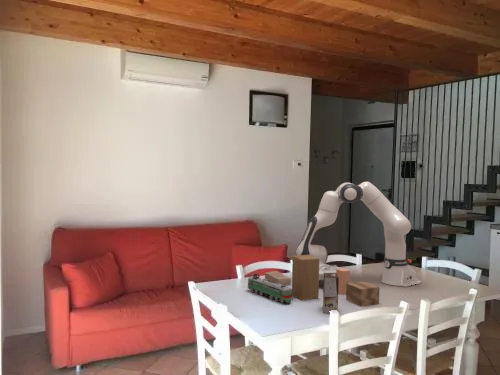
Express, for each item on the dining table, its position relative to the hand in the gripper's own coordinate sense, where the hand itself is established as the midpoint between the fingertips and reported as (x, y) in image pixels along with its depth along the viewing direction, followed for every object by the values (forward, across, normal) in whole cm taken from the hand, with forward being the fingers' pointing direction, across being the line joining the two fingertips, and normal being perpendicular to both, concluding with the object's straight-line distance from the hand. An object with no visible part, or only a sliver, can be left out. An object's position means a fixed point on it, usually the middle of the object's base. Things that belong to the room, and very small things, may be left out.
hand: (337, 277), depth 228 cm
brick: (-25, -22, +7) cm, 34 cm away
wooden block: (+4, -22, +7) cm, 23 cm away
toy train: (-2, -39, +7) cm, 40 cm away
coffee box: (+26, -22, +7) cm, 35 cm away
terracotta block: (+5, 0, +6) cm, 8 cm away
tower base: (+21, 0, +6) cm, 22 cm away
